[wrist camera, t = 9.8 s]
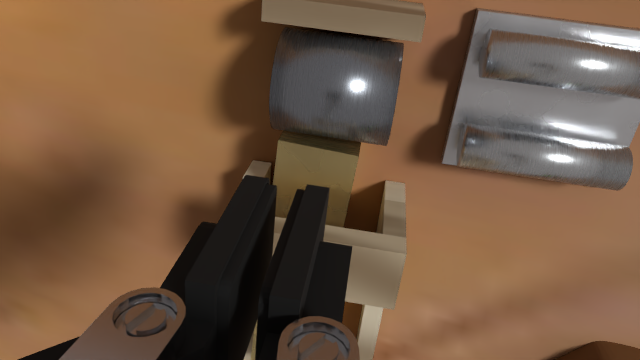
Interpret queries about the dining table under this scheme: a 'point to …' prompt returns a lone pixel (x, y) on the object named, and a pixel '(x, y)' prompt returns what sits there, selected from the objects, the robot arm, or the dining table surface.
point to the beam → (390, 238)
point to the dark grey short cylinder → (335, 85)
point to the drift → (314, 175)
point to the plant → (603, 352)
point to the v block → (547, 100)
